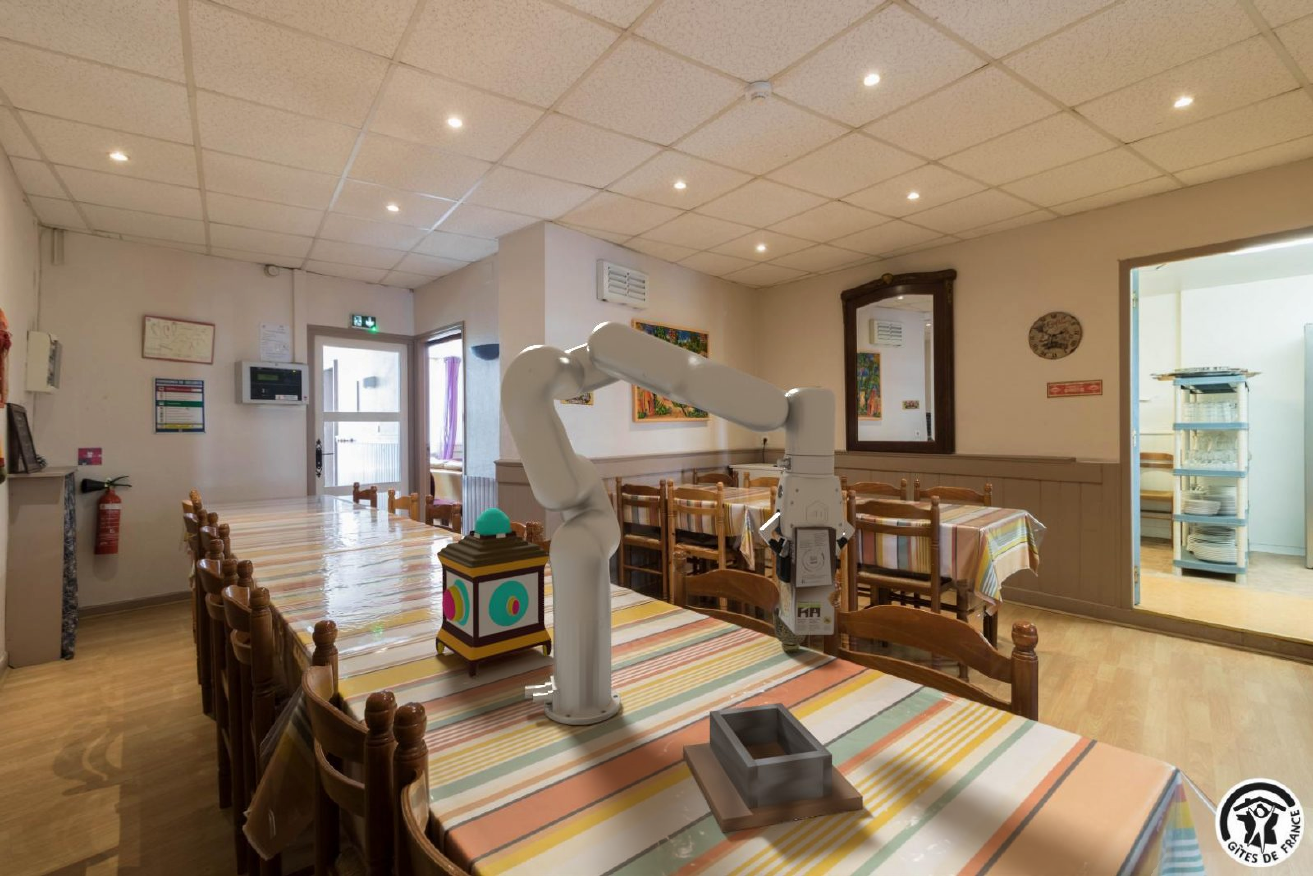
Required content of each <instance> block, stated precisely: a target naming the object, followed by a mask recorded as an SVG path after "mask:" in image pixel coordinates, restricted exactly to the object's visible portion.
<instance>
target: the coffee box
mask: <svg viewBox="0 0 1313 876" xmlns="http://www.w3.org/2000/svg"><path fill="white" fill-rule="evenodd" d="M836 530H837V529H835V528H832V527H795V539H794V541H791V549H790V551H789V553H788V557H790V558H791V574H790V582H789V583H785V582H783V581H781V580H779V589H778V590H779V594H778V595H779V596H778V597H779V598H778V599H779V600H778V608H779V617H780V619H781V620H782V621H783V622H784V623H785V624H786V625H787V626H788V627H789V629H790V630H791V631H792V632H793V633H794V634H795V635H806V636H807V635H808V636H809V635H810V636H811V635H812V636H813V635H814V636H815V635H817V636H818V635H819V636H820V635H823V636H824V635H825V636H827V635H829V636H831V635H833V634H834V632H835V631H834V630H835V602H836V601H835V599H836V598H835V594H836V574H835V566H836Z"/></svg>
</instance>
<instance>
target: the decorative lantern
mask: <svg viewBox="0 0 1313 876" xmlns="http://www.w3.org/2000/svg"><path fill="white" fill-rule="evenodd" d="M468 533H469V534H467V535H465V536H463V538H462V539H459V540H458V541H457V542H451V543H448V544H447V545H446V546H445V547H443V548H441V549H440V551H438V552H436V556H437V559H438V561H439V562H440V564H441V569H442V571H441V572H442V575H441V576H442V587H441V588H442V589H441V590H442V601H441V603H442V605H441V606H442V623H441V626H440V628H439V630H438V632H437V634H436V636H435V650H436V653H438V654H443V653H444V652H445V648H446V649H448V650H449V651H451V652H452V653H454V654H455V655H456V656H457V657H459V658H460V659H462V660H464V661H465V663H466V664H467V671H468V676H469V677H470V678H471V679H474V678H476V676H477V671H478V666H479V665H480V664H481V663H482V662H485V661H489V660H492V659H496V658H500V657H503V656H507V655H510V654H515V653H518V652H522V651H525V650H528V649H533V648H537V647H540V646H541V647H542V654H543V656H544V657H549V656H550V655H551V653H552V649H553V648H552V647H553V644H552V643H553V642H552V638H551V636H550V634H549V632H548V631H547V628H546V625H545V568H546V566H547V563H548V561H549V553H548V552H546V550H545V549H544V548H541V547H540V545H539V544H535V543H532V542H529V541H528V540H526V539H523V538H522V536H521V535H518V534H517V531H516V530H512V529H511V521H510V518H509V516H508V515H506V513H504V512H503V511H502V510H501V509H499V508H495V507H490V508H487V509H485V510H484V511H483V512H482V513H481V514H480V515H479V516H478V517H477V518H476V520H475V525H474V530H469V532H468Z"/></svg>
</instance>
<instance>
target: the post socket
mask: <svg viewBox="0 0 1313 876" xmlns="http://www.w3.org/2000/svg"><path fill="white" fill-rule="evenodd" d="M682 757H683V759H684V761H685V764H686V765H687V767H688V769H689V770H690V773H691V774H692V776H693V778H694V780H695V783H696V784H697V786H698V787H699V789H700V792H701V794H702V797H704V800H705V801H706V803H707V805H708V807H709V809H710V811H711V813H712V815H713V818H715V821H716V823H717V824H718V827H719V828H720V830H721V833H728V832H735V831H741V830H746V829H752V828H753V829H754V828H757V827H764V826H769V825H775V824H780V823H781V824H782V823H786V821H788V822H791V821H790V820H793V821H796V820H795V819H799V820H803V819H802V818H805V819H807V818H806V817H811V818H813V817H812V816H817V817H819V816H818V815H822V816H827V815H826V814H828V815H832V814H833V813H834V814H839V813H845V812H844V811H846V812H849V810H851V811H857V810H861V809H862V810H863V809H864V808H863V805H864V803H863V802H864V796H863V795H862V793H860V791H858V789H856V788H855V786H853V784H852V783H851V782H849V780H848V779H847V778H846V777H845V776H844V775H843V774H842V772H841V771H840V770H838V769H837V768H836V766H835V765H834V764H833V754H832V753H831V752H830V751H829V750H828V749H827V748H826V747H825V746H824V745H823V744H822V743H821V741H819V740H818V739H817V738H816V737H815V736H814V735H813V733H812V732H811V731H810V730H808V728H807V727H806V726H805V725H804V724H803V723H802V722H801V721H800V720H799V719H798V718H797V717H796V716H794V714H793V713H792V712H791V711H790V710H789V709H788V708H787V707H786V706H785V705H784V704H783V703H782V702H778V703H769V704H761V705H752V706H746V707H745V706H744V707H737V708H736V707H735V708H727V709H726V708H725V709H718V710H712V711H711V710H710V711H709V742H705V743H697V744H688V745H683V746H682ZM837 812H839V813H837ZM834 814H833V815H834Z"/></svg>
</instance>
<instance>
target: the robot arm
mask: <svg viewBox="0 0 1313 876" xmlns="http://www.w3.org/2000/svg"><path fill="white" fill-rule="evenodd" d="M507 366H508V367H507V368H506V370H505V373H504V375H503V377H502V382H501V386H500V403H501V408H502V412H503V414H504V415H503V416H504V418H505V421H506V425H507V426H508V429H509V432H510V434H511V435H512V439H513V441H514V444H515V446H516V450H517V453H518V456H519V458H520V460H521V463H522V466H523V469H524V471H525V474H526V477H527V479H528V482H529V486H530V488H531V491H532V493H533V497H534V498H535V500H536V501H537V503H538V505H540V506H541V508H542V509H545V510H546V511H548V512H551V513H559V516H560V517H561V520H562V522H563V523H561V524H560V525H559V526H558V528H557V529H556V530H555V531H554V533H553V536H552V537H551V541H550V544H549V553H548V554H549V559H548V561H549V567H550V574H551V575H550V576H551V585H552V615H553V619H552V620H553V623H552V625H553V627H552V628H553V631H552V632H553V635H552V636H553V642H552V643H553V644H552V647H553V648H552V649H553V673H552V674H553V675H550V677H549V678H550V681H546V682H544V684H541V685H540V684H537V685H536V684H531V685H525V686H524V698H525V699H526V700H527V699H532V703H533V704H539V703H543V711H544V714H545V715H546V716H547V717H548V718H549V719H551V720H553V721H554V722H557V723H560V724H565V725H573V726H584V725H591V724H593V725H594V724H598V723H600V722H603V721H606V720H608V719H610V718H611V717H613V716H615V715H616V714H617V713H618V712H619V711H620V708H621V704H622V700H621V695H620V694H619V693H618V692H617V691H616V690H615V689H613V688H612V586H611V575H610V559H611V558H612V556H613V555H614V554H615V553H616V551H617V550H618V548H619V546H620V542H621V539H622V538H621V537H622V535H621V527H620V524H619V520H618V518H617V515H616V513H615V510H614V508H613V505H612V503H611V499H610V497H609V494H608V492H607V489H606V486H605V484H604V481H603V479H602V476H601V474H600V472H599V471H598V469H597V467H596V465H595V464H594V463H593V462H592V461H591V460H590V459H589V458H588V457H586V456H585V455H583V454H581V453H580V454H579V453H576V452H575V451H574V449H573V446H572V444H571V441H570V439H569V436H568V434H567V430H566V427H565V425H564V423H563V421H562V419H561V417H560V415H559V413H558V412H557V410H556V407H555V406H556V405H555V400H556V401H567V400H571V399H575V398H578V397H581V396H583V395H586V394H588V393H591V392H594V391H596V390H599V389H601V388H604V387H609V386H611V385H614V384H615V383H618V382H620V381H623V382H626V383H628V384H631V385H632V386H636V387H638V388H640V389H643V390H645V391H648V392H649V393H652V394H653V395H654V394H655V395H657V396H659V397H661V398H664V399H666V400H669V401H671V402H674V403H676V404H681V405H684V406H690V407H694V408H695V409H698V410H701V411H703V412H706V413H709V414H711V415H714V416H715V417H718V418H720V419H723V420H725V421H728V422H730V423H732V424H735V425H737V426H740V427H742V428H744V429H746V430H747V431H750V432H752V433H756V434H761V435H762V434H768V433H774V432H785V436H784V439H785V441H784V454H783V458H778V459H777V461H776V466H777V468H780V469H783V470H782V471H783V472H784V473H783V474H780V478H779V481H778V484H777V489H776V495H775V501H774V502H775V503H774V511H773V512H774V514H773V516H772V517H771V518H769V519H768V520H767V522H765V523H763V525H762V526H761V527H760V528H759V529H758V530H757V531H758V532H757V533H758V534H759V535H760V536H761V538H762V540H763V541H764V542H765V544H766V545H767V546H768V547H769V548H770V549H771V550H772V552H773V553H774V554H775V575H776V576H777V579H778V580H779V581H780V580H781V581H783V582H785V583H789V582H790V574H791V558H790V557H788V553H789V551H790V549H791V541H794V539H795V527H832V528H835V529H837V530H836V566H835V575H836V574H837V573H838V568H837V567H838V566H837V565H838V556H839V555H840V554H841V552H842V549H843V548H844V547H846V545H847V544H848V541H849V540H850V539H851V537H852V536H853V535H854V533H855V532H856V529H855V528H854V526H853V525H851V524H850V522H848V520H846V519H845V514H844V513H845V512H844V511H845V510H844V499H843V492H842V485H841V481H840V476H838V475H835V443H836V442H835V441H836V439H835V437H836V409H837V408H836V407H837V406H836V405H837V400H836V394H835V392H834V391H833V390H832V389H830V388H828V387H821V386H820V387H818V386H817V387H816V386H813V387H812V386H811V387H810V386H802V387H795V388H792V389H790V390H784V389H781V388H779V387H778V386H776V385H775V384H772V383H770V382H768V381H766V380H764V379H761V378H759V377H757V376H755V375H754V376H753V375H751V374H749V373H747V372H744V371H741V370H739V369H737V368H734V367H732V366H729V365H726V364H723V363H720V362H717V361H715V360H712V359H710V358H708V357H705V356H703V355H702V354H699V353H696V352H695V351H692V350H689V349H686V348H684V347H682V346H678V345H676V344H674V343H672V342H669V341H666V340H665V339H662V338H660V337H657V336H654V335H652V334H649V333H647V332H645V331H642V330H640V329H636V328H635V327H632V326H630V325H627V324H625V323H621V322H618V321H605V322H602V323H599V325H596V326H595V328H593V330H592V331H591V333H590V334H589V336H588V339H587V343H585V344H582V345H579V346H576V347H574V348H571V349H569V350H562V349H560V348H558V347H555V346H552V345H547V344H537V345H533V346H528V347H527V348H525V349H523V350H522V351H521V352H519V353H518V354H517V355H516V356H515V357H514V358H513V359H512V360H511V362H510V363H509V365H507ZM773 531H774V534H776V535H777V536H778V537H777V539H775V537H774V536H773Z"/></svg>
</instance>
